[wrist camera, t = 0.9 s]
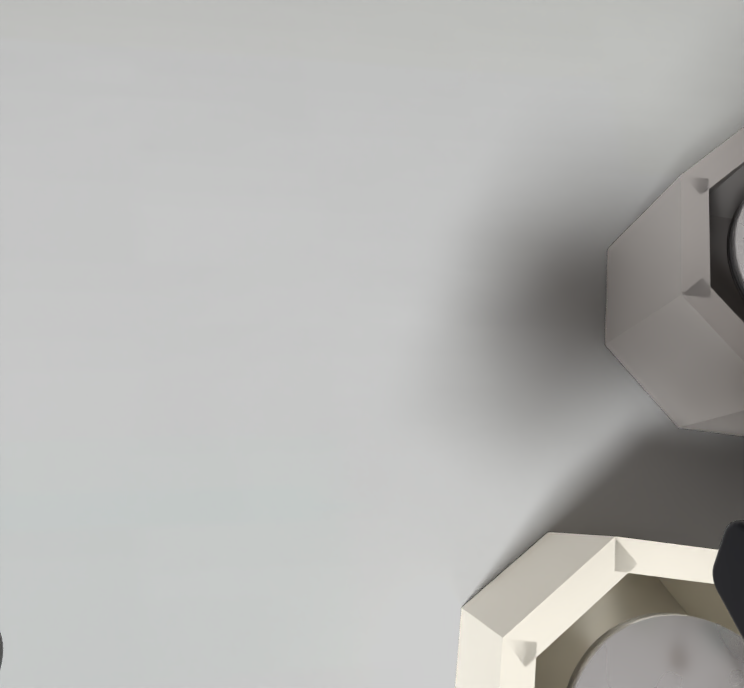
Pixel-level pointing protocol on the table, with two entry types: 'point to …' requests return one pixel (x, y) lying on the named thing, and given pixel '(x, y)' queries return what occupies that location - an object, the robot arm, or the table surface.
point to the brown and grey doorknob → (663, 655)
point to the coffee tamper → (737, 248)
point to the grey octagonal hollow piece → (684, 297)
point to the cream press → (576, 605)
